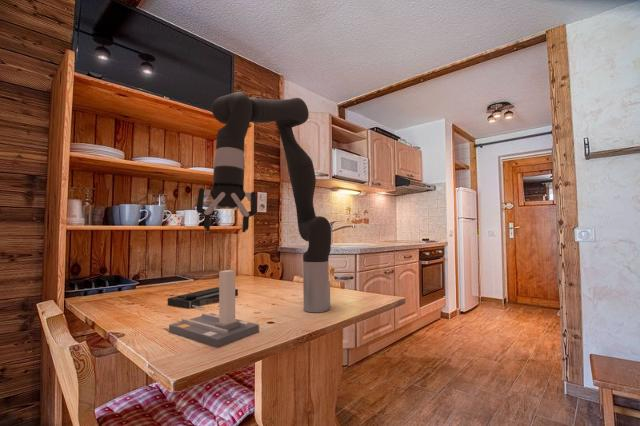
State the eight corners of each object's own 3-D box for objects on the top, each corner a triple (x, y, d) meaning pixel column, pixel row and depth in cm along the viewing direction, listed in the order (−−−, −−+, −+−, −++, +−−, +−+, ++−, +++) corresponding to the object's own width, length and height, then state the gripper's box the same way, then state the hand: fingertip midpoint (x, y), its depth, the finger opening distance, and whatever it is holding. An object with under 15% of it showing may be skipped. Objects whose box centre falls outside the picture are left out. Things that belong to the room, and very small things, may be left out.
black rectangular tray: (216, 284, 142) (250, 287, 133) (216, 293, 142) (250, 297, 133) (167, 295, 120) (202, 300, 111) (167, 306, 120) (202, 312, 111)
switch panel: (211, 319, 100) (211, 310, 100) (259, 331, 87) (258, 320, 87) (169, 331, 88) (169, 321, 88) (217, 347, 76) (217, 335, 76)
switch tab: (229, 324, 88) (229, 269, 88) (239, 326, 85) (239, 270, 86) (215, 329, 83) (215, 271, 84) (224, 331, 81) (224, 272, 82)
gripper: (255, 174, 85) (253, 233, 82) (200, 170, 80) (196, 232, 78) (259, 167, 78) (256, 231, 75) (198, 161, 73) (194, 229, 71)
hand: (226, 231), depth 77 cm, fingers open, 8 cm apart
